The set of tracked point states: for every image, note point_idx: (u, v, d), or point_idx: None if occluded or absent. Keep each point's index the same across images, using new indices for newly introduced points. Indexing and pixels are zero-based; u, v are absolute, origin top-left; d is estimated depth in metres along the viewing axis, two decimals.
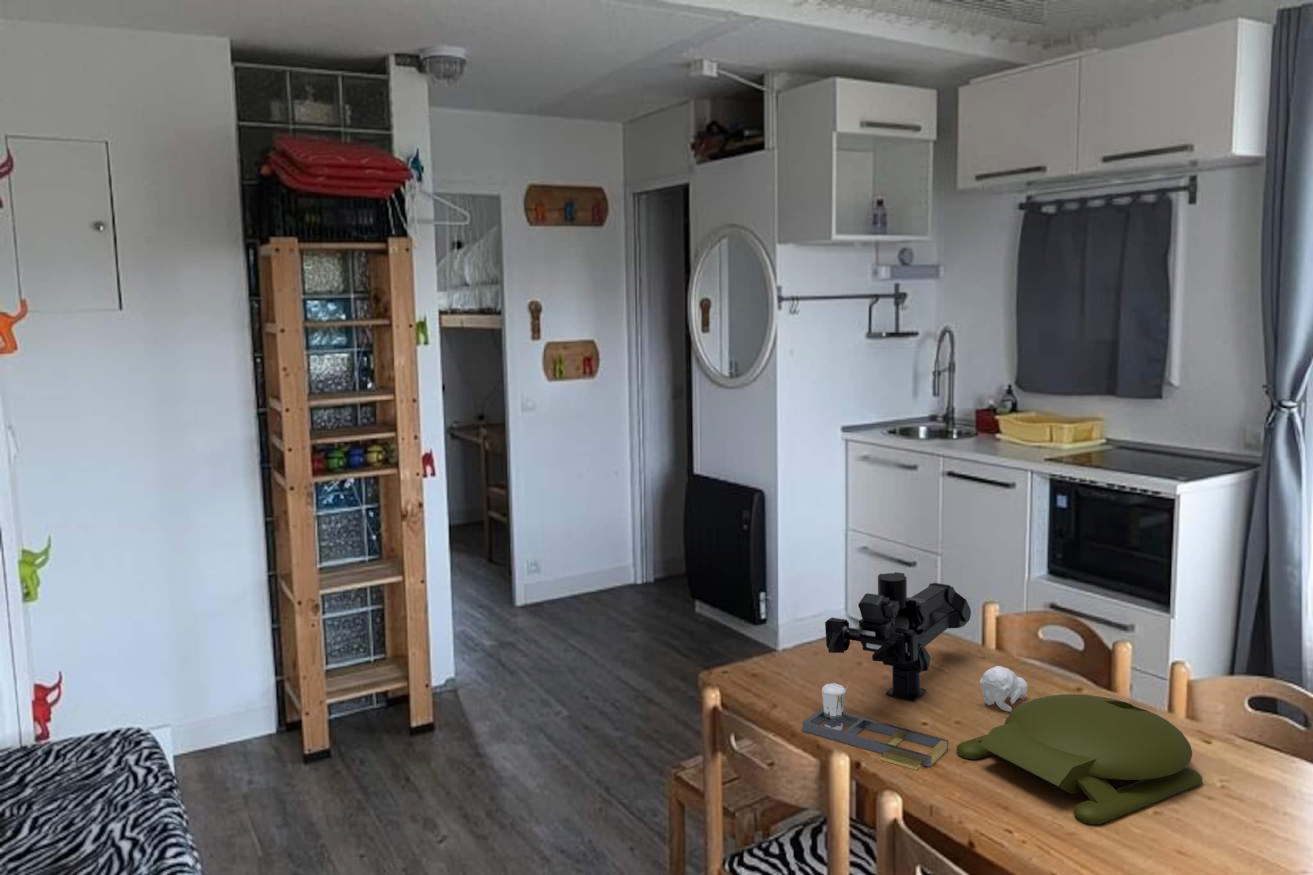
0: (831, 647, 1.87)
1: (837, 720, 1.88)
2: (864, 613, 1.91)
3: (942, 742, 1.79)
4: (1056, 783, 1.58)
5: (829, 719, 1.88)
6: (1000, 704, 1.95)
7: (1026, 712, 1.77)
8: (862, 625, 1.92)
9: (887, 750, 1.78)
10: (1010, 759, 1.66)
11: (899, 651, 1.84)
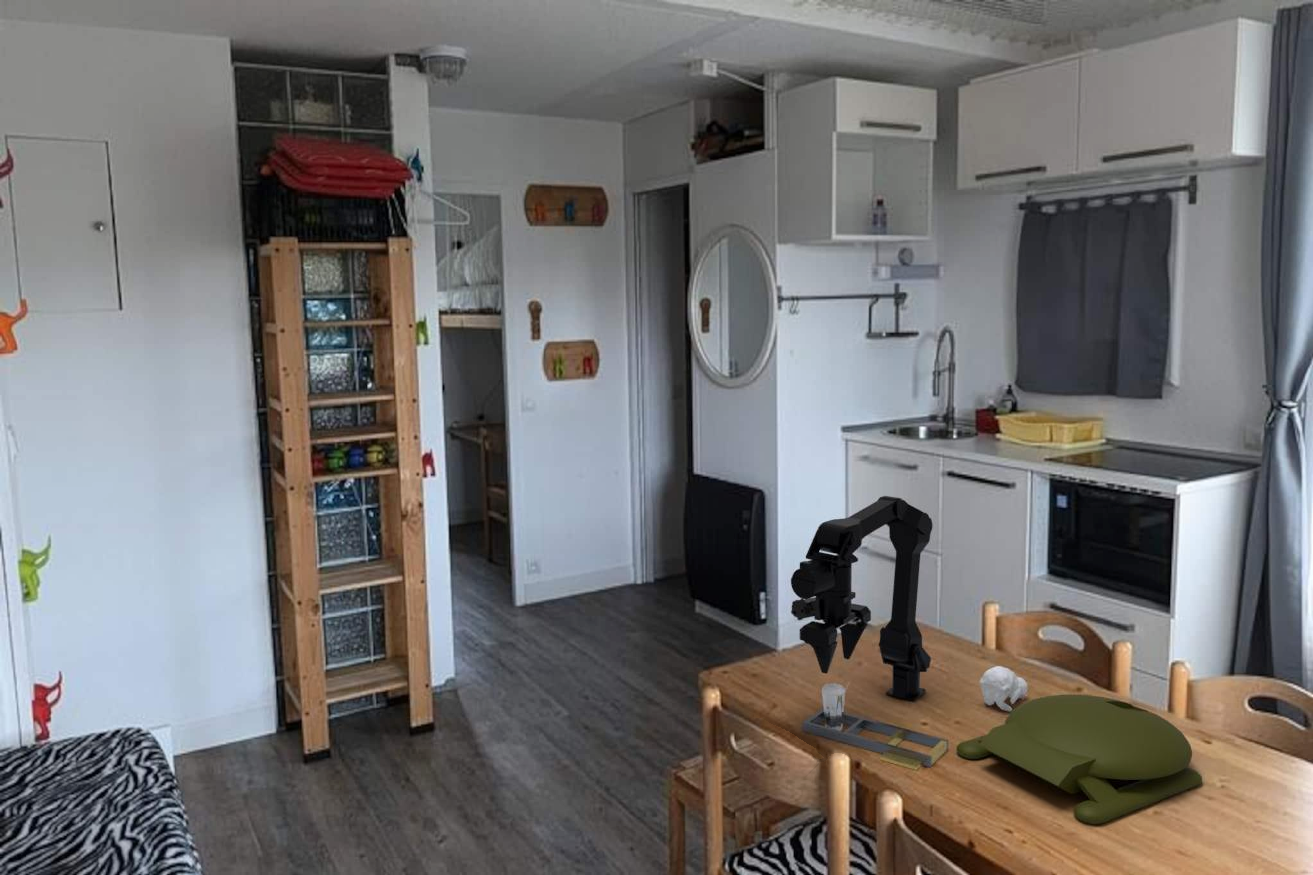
0: (844, 655, 1.91)
1: (837, 720, 1.88)
2: None
3: (942, 742, 1.79)
4: (1056, 783, 1.58)
5: (829, 719, 1.88)
6: (1000, 704, 1.95)
7: (1026, 712, 1.77)
8: None
9: (887, 750, 1.78)
10: (1010, 759, 1.66)
11: None
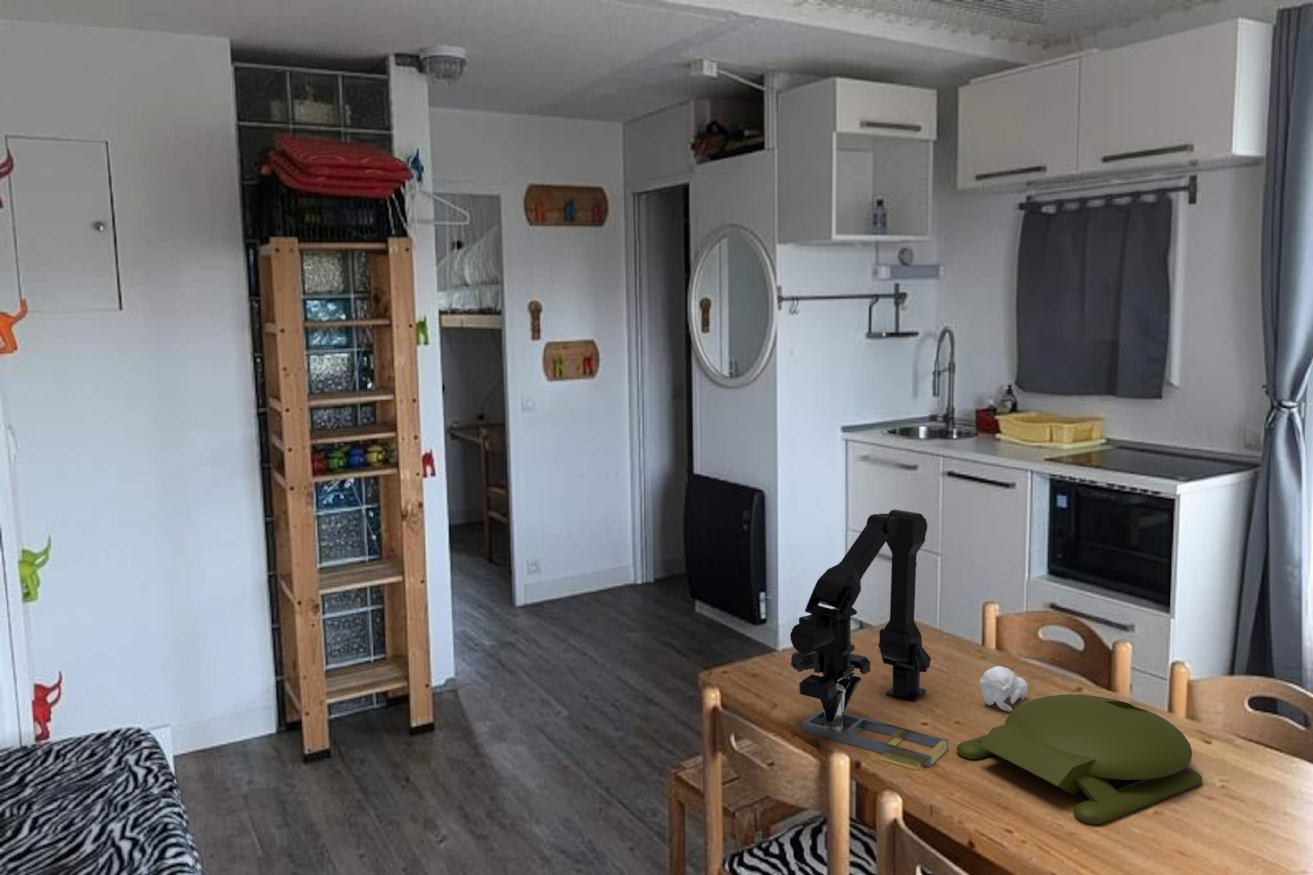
0: None
1: (837, 720, 1.88)
2: None
3: (942, 742, 1.79)
4: (1056, 783, 1.58)
5: None
6: (1000, 704, 1.95)
7: (1026, 712, 1.77)
8: None
9: (887, 750, 1.78)
10: (1010, 759, 1.66)
11: None
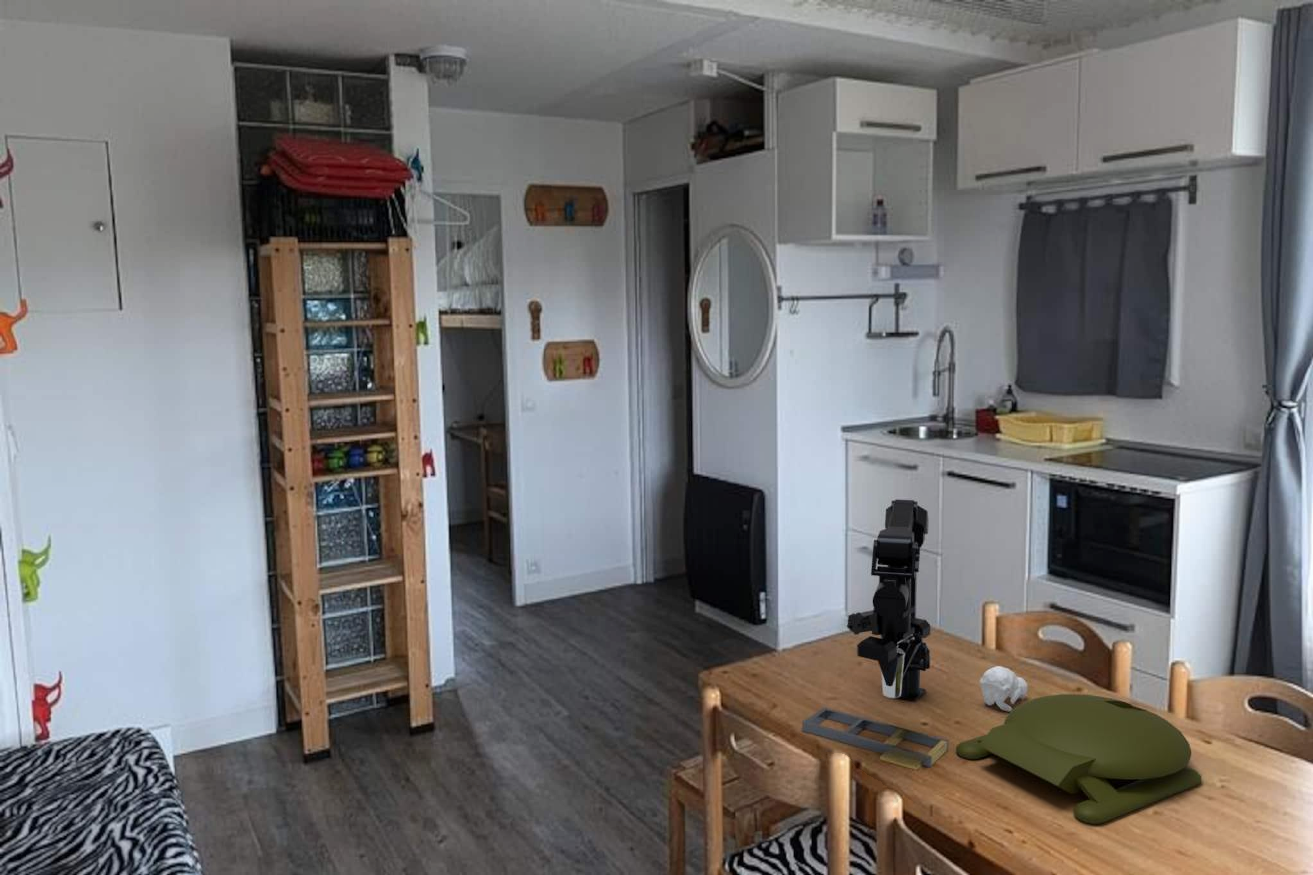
0: None
1: (896, 684, 1.79)
2: None
3: (942, 742, 1.79)
4: (1056, 783, 1.58)
5: None
6: (1000, 704, 1.95)
7: (1025, 712, 1.77)
8: None
9: (887, 750, 1.78)
10: (1010, 759, 1.66)
11: None
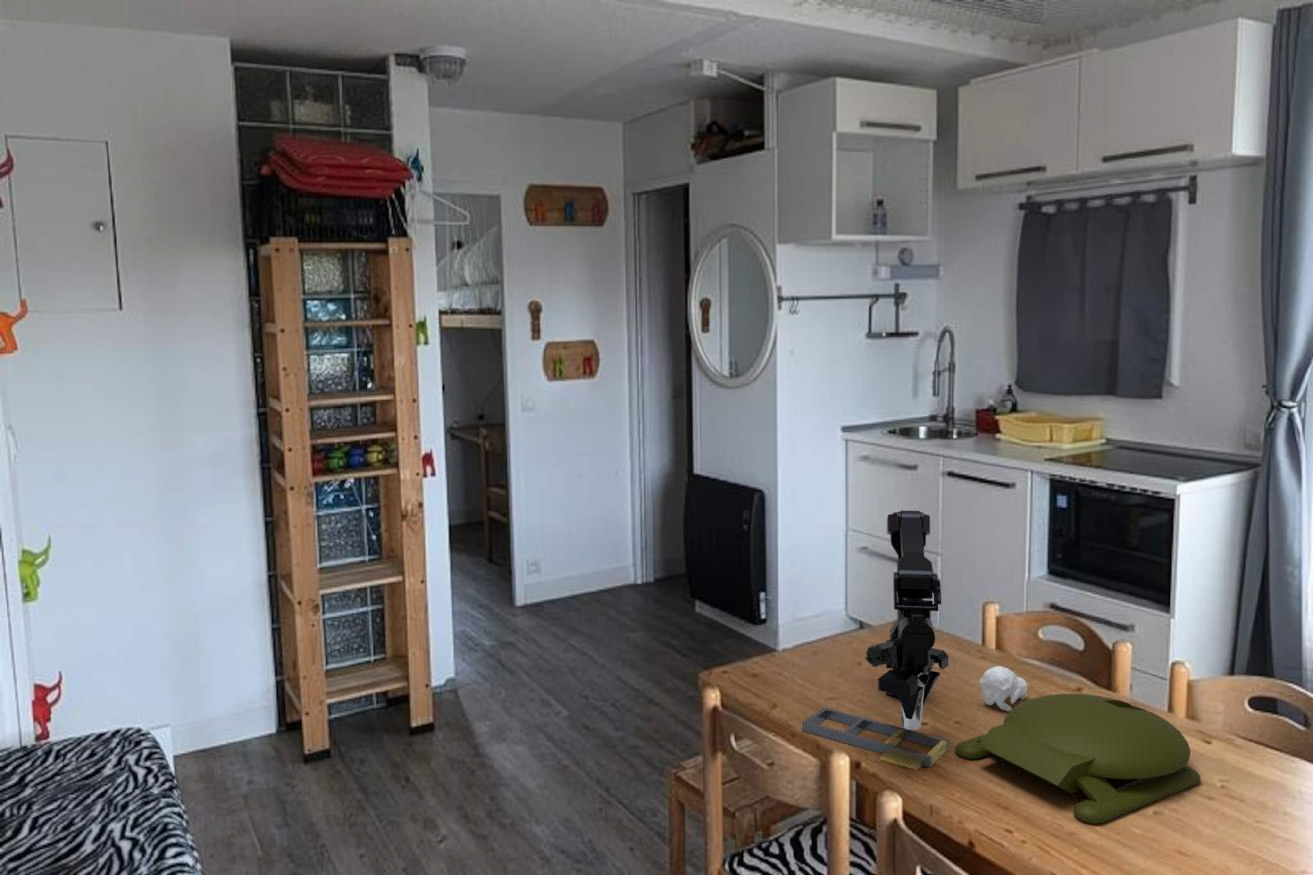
0: None
1: (916, 717, 1.77)
2: None
3: (942, 742, 1.79)
4: (1056, 783, 1.58)
5: None
6: (1000, 704, 1.95)
7: (1025, 712, 1.77)
8: None
9: (887, 750, 1.78)
10: (1009, 759, 1.66)
11: None
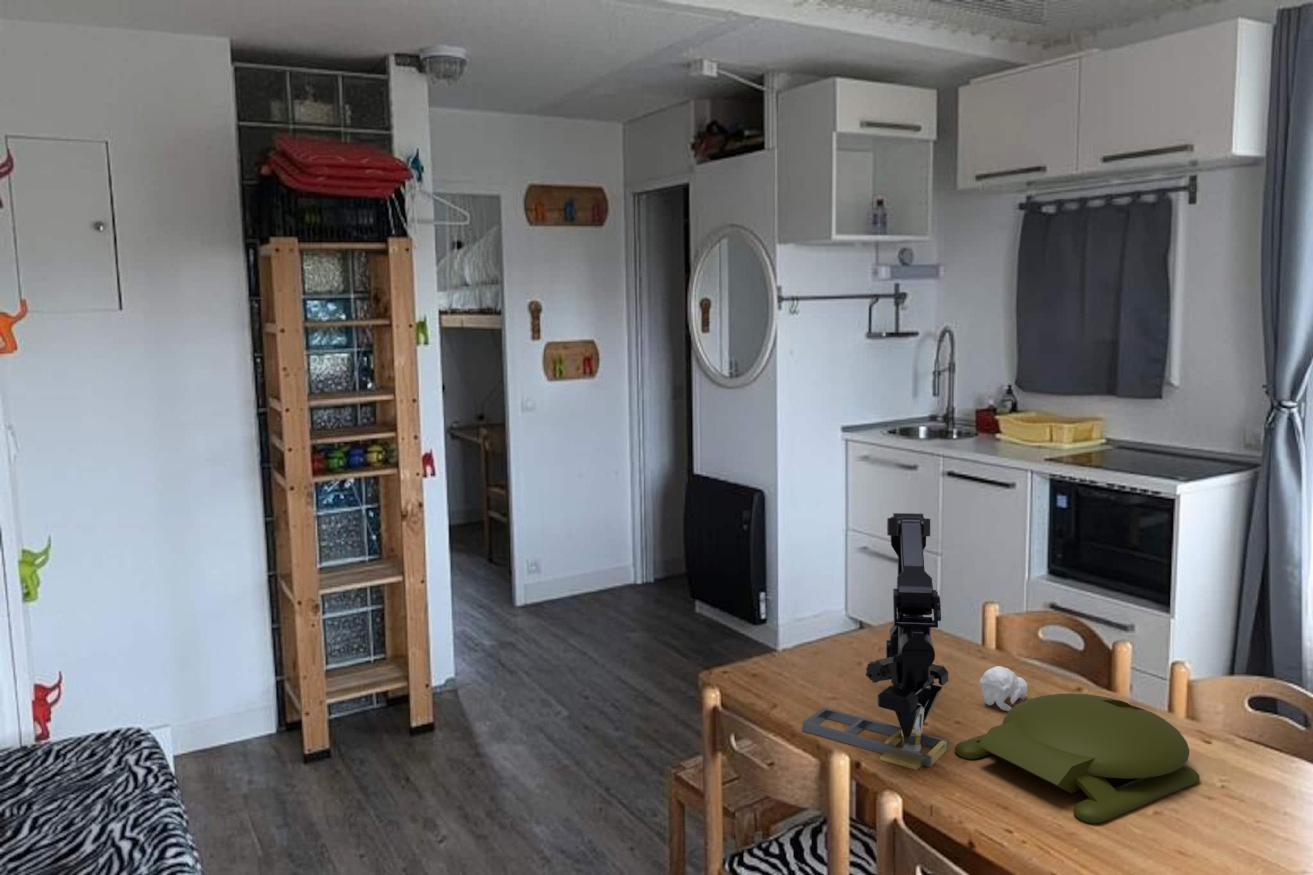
0: None
1: (916, 740, 1.78)
2: None
3: (942, 742, 1.79)
4: (1055, 782, 1.58)
5: (907, 739, 1.78)
6: (1000, 704, 1.95)
7: (1024, 712, 1.77)
8: None
9: (887, 750, 1.78)
10: (1009, 759, 1.66)
11: None
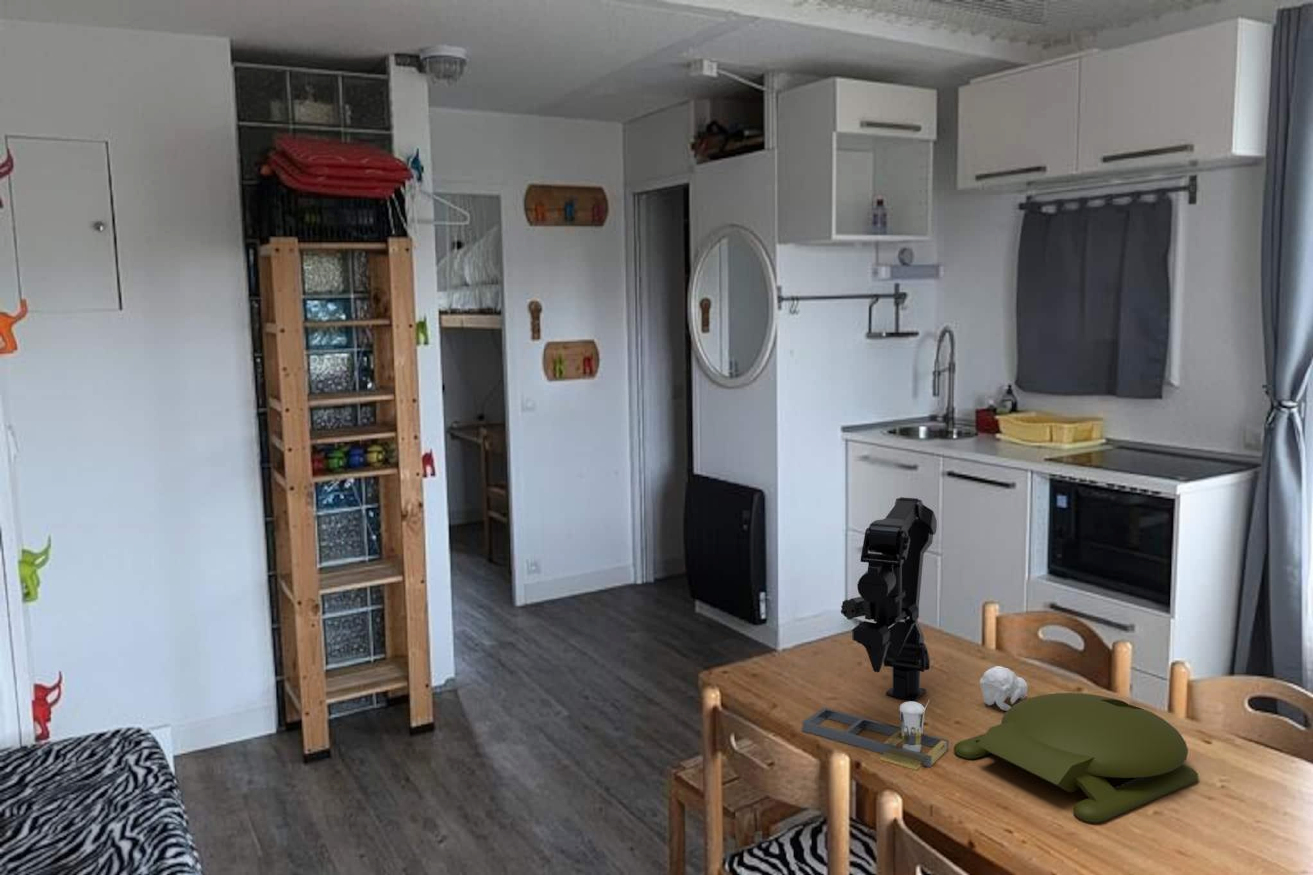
0: (893, 653, 1.93)
1: (916, 740, 1.78)
2: None
3: (942, 742, 1.79)
4: (1055, 782, 1.58)
5: (907, 739, 1.78)
6: (1000, 704, 1.95)
7: (1023, 711, 1.77)
8: None
9: (887, 750, 1.78)
10: (1008, 758, 1.66)
11: None
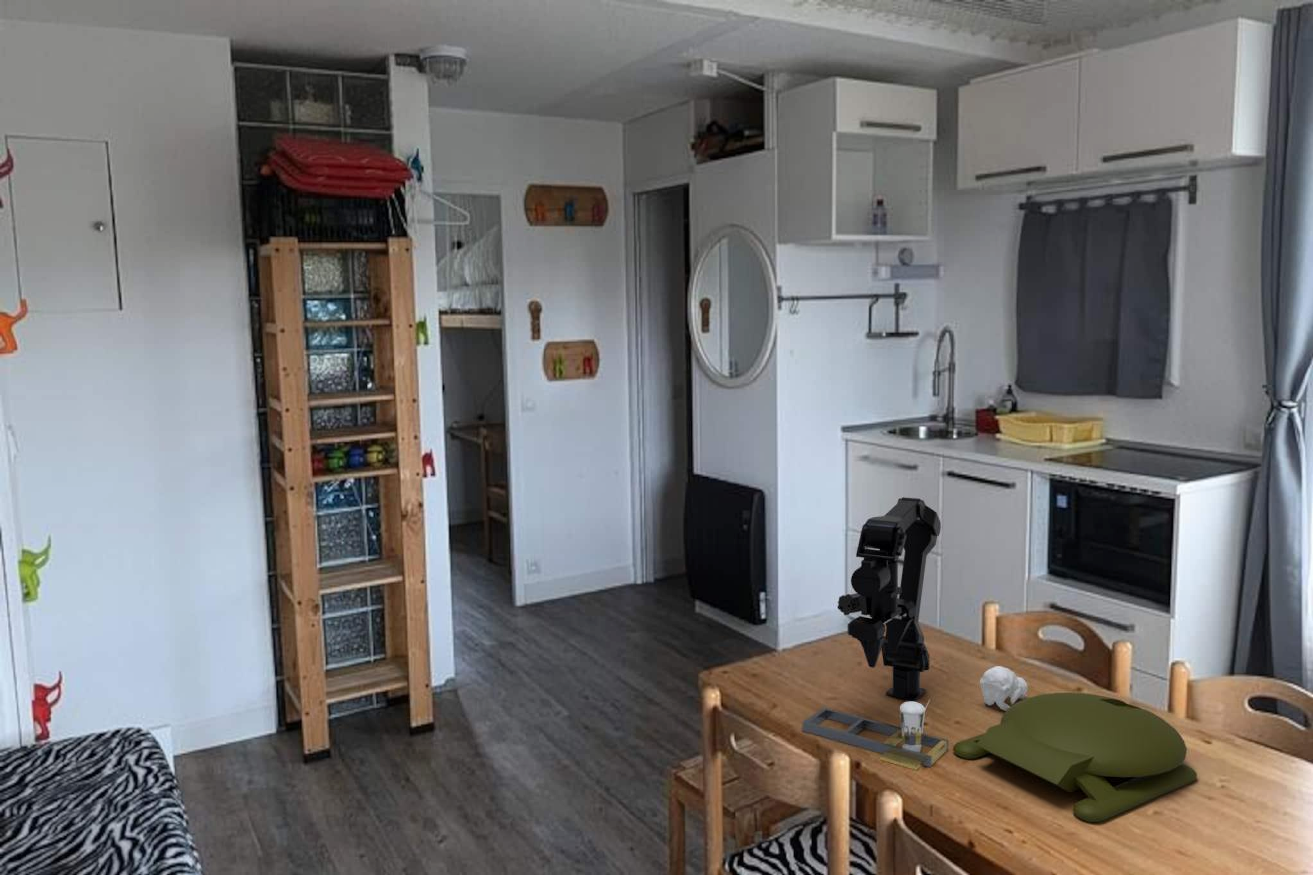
0: (890, 650, 1.94)
1: (917, 740, 1.78)
2: None
3: (942, 742, 1.79)
4: (1055, 782, 1.58)
5: (908, 739, 1.78)
6: (1000, 704, 1.95)
7: (1022, 711, 1.78)
8: None
9: (887, 750, 1.78)
10: (1008, 758, 1.67)
11: None
